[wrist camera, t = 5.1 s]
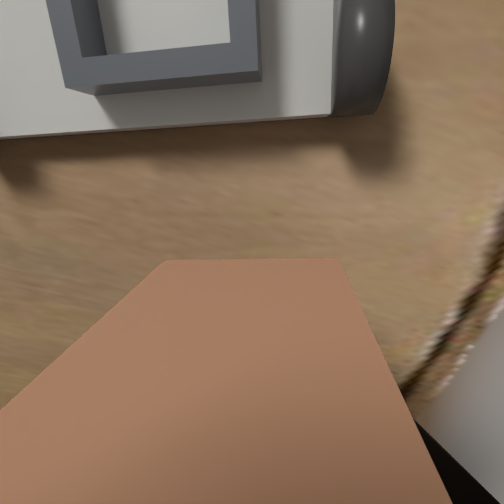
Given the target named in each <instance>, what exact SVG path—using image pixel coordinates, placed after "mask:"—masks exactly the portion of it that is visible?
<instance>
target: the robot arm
mask: <svg viewBox="0 0 504 504" xmlns="http://www.w3.org/2000/svg"><path fill="white" fill-rule="evenodd" d="M413 420H414V419H413ZM414 422H415V424H416V426H417V429H418V431H419V433H420V435H421V437H422V439H423V441H424V444H425V446H426V448H427V450H428V452H429V454H430V456H431V459H432V461H433V463H434V465H435V467H436V469H437V471H438V474H439V476H440V478H441V480H442V482H443V484H444V486H445V489H446V491H447V493H448V495H449V497H450V499H451V501H452V504H500V503H499V502H498V501H497V500H496V499H495V498H494V497H493V496H492V495H491V494H490V493H489V492H488V491H487V490H486V489H485V488H484V487H483V486H482V485H481V484H480V483H479V482H478V481H477V480H476V479H474V478H473V477H472V476H471V475H470V474H469V473H468V472H467V471H466V470H465V469H464V468H463V467H462V466H461V465H460V464H459V463H458V462H457V461H456V460H455V459H454V458H453V457H452V456H451V455H450V454H449V453H448V452H447V451H446V450H445V449H444V448H443V447H442V446H441V445H440V444H439V443H438V442H437V441H436V440H435V439H434V438H432V437H431V436H430V434H429V433H427V432H426V431H425V430H424V429H423V428H422V427H421V426H420V425H419V424H418V423H417V422H416V421H415V420H414Z"/></svg>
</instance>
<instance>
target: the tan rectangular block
mask: <svg viewBox="0 0 504 504" xmlns="http://www.w3.org/2000/svg"><path fill="white" fill-rule="evenodd" d="M0 504H452V501H451V499H450V497H449V495H448V493H447V491H446V489H445V486H444V484H443V482H442V480H441V478H440V476H439V474H438V471H437V469H436V467H435V465H434V463H433V461H432V459H431V456H430V454H429V452H428V450H427V448H426V446H425V444H424V441H423V439H422V437H421V435H420V433H419V431H418V429H417V426H416V424H415V422H414V420H413V418H412V416H411V414H410V411H409V409H408V407H407V405H406V403H405V401H404V399H403V396H402V394H401V392H400V390H399V388H398V386H397V384H396V381H395V379H394V377H393V375H392V373H391V371H390V369H389V366H388V364H387V362H386V360H385V358H384V356H383V354H382V351H381V349H380V347H379V345H378V343H377V341H376V339H375V336H374V334H373V332H372V330H371V328H370V326H369V324H368V321H367V319H366V317H365V315H364V313H363V311H362V309H361V306H360V304H359V302H358V300H357V298H356V296H355V294H354V291H353V289H352V287H351V285H350V283H349V281H348V279H347V276H346V274H345V272H344V270H343V268H342V266H341V264H340V261H339V259H338V258H286V259H212V260H164V261H163V262H162V263H161V264H160V265H159V266H158V267H157V268H155V269H154V270H153V271H152V272H151V273H150V274H149V275H148V276H147V277H146V278H144V279H143V280H142V281H141V282H140V283H139V284H138V285H137V286H136V287H135V288H134V289H132V290H131V291H130V292H129V293H128V294H127V295H126V296H125V297H124V298H123V299H121V300H120V301H119V302H118V303H117V304H116V305H115V306H114V307H113V308H112V309H110V310H109V311H108V312H107V313H106V314H105V315H104V316H103V317H102V318H101V319H100V320H98V321H97V322H96V323H95V324H94V325H93V326H92V327H91V328H90V329H89V330H87V331H86V332H85V333H84V334H83V335H82V336H81V337H80V338H79V339H78V340H77V341H75V342H74V343H73V344H72V345H71V346H70V347H69V348H68V349H67V350H66V351H64V352H63V353H62V354H61V355H60V356H59V357H58V358H57V359H56V360H55V361H54V362H52V363H51V364H50V365H49V366H48V367H47V368H46V369H45V370H44V371H43V372H41V373H40V374H39V375H38V376H37V377H36V378H35V379H34V380H33V381H32V382H30V383H29V384H28V385H27V386H26V387H25V388H24V389H23V390H22V391H21V392H20V393H18V394H17V395H16V396H15V397H14V398H13V399H12V400H11V401H10V402H9V403H7V404H6V405H5V406H4V407H3V408H2V409H1V410H0Z"/></svg>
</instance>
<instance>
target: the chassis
mask: <svg viewBox="0 0 504 504" xmlns="http://www.w3.org/2000/svg"><path fill="white" fill-rule="evenodd" d="M394 29H395V0H334V3H333V0H0V140H1V139H15V138H30V137H44V136H59V135H73V134H88V133H102V132H116V131H131V130H145V129H160V128H174V127H189V126H203V125H217V124H232V123H246V122H261V121H275V120H290V119H304V118H318V117H327V116H328V115H329V114H330V115H331V117H340V116H355V115H369V114H373V113H374V112H375V111H376V109H377V108H378V106H379V103H380V101H381V98H382V96H383V93H384V89H385V86H386V82H387V78H388V73H389V68H390V63H391V57H392V49H393V41H394Z"/></svg>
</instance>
